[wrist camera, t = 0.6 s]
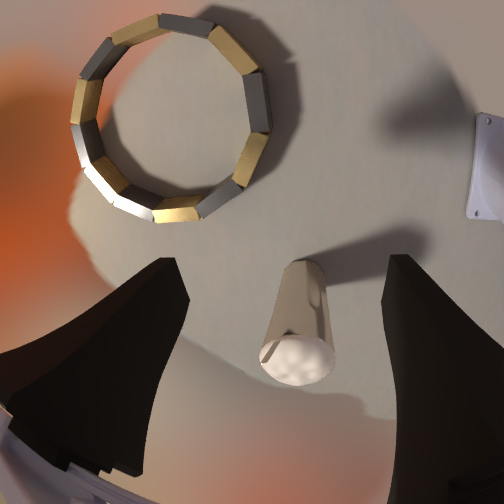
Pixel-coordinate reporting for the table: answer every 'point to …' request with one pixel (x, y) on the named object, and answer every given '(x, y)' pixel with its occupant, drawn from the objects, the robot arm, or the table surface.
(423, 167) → the table surface
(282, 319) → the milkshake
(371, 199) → the table surface
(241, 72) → the ring
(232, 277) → the table surface
